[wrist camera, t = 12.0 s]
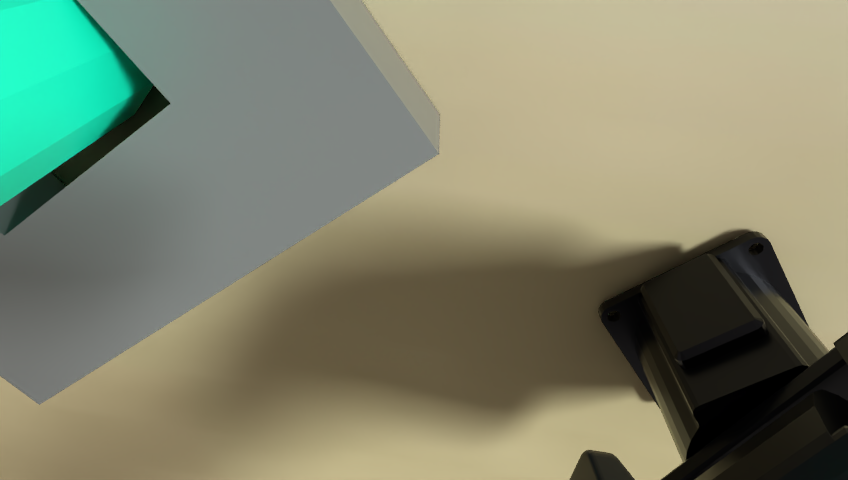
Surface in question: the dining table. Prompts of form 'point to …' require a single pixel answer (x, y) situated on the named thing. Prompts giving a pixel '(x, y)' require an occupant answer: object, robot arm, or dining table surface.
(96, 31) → the candle
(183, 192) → the socket block
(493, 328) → the dining table surface
